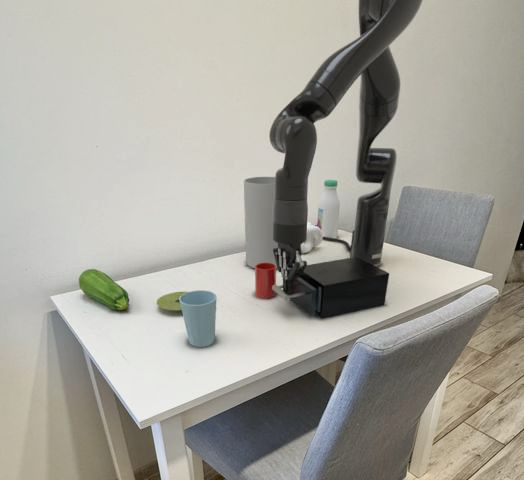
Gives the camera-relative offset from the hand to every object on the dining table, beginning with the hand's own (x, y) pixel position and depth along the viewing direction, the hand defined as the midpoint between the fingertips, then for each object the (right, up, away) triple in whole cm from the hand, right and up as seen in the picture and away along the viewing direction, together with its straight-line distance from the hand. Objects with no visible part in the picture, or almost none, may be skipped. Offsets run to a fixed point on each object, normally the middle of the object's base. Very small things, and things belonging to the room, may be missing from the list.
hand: (288, 292), depth 101 cm
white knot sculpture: (+8, +20, +44) cm, 49 cm away
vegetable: (-46, -2, +9) cm, 47 cm away
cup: (-19, -12, -9) cm, 25 cm away
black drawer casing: (+14, -1, +8) cm, 16 cm away
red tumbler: (-5, +1, +12) cm, 14 cm away
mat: (-27, -3, +6) cm, 28 cm away
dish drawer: (+8, -2, +6) cm, 10 cm away
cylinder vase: (-5, +13, +33) cm, 36 cm away
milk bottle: (+18, +29, +58) cm, 67 cm away
